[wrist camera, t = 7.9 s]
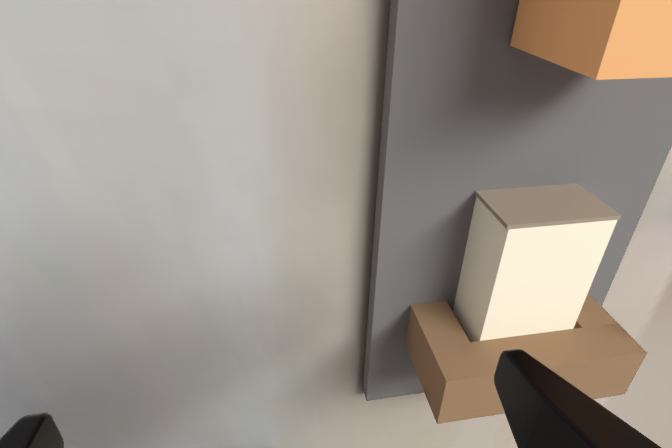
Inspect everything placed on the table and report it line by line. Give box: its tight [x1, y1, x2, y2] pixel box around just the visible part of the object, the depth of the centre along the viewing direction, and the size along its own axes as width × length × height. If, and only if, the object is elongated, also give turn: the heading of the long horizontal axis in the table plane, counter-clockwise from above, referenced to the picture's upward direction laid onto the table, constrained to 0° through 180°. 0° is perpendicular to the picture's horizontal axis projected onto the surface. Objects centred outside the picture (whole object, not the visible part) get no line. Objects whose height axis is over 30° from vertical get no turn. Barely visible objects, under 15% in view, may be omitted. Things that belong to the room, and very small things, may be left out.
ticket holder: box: [363, 0, 672, 424], centre depth 19 cm, size 30×14×6 cm, turn 179°
